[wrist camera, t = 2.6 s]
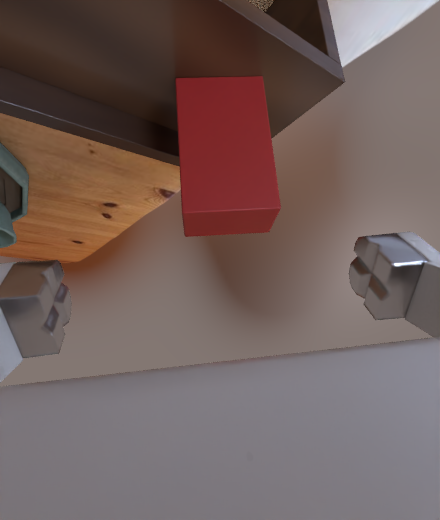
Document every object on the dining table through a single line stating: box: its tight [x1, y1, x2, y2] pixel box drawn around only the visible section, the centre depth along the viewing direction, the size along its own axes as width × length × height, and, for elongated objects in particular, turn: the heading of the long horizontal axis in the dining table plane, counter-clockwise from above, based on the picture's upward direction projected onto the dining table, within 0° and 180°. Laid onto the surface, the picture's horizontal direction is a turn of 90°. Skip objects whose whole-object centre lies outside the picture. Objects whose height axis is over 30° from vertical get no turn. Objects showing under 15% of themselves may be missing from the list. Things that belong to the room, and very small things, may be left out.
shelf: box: [0, 0, 345, 166], centre depth 26 cm, size 12×22×14 cm, turn 54°
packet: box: [175, 76, 281, 237], centre depth 25 cm, size 4×6×10 cm, turn 87°
